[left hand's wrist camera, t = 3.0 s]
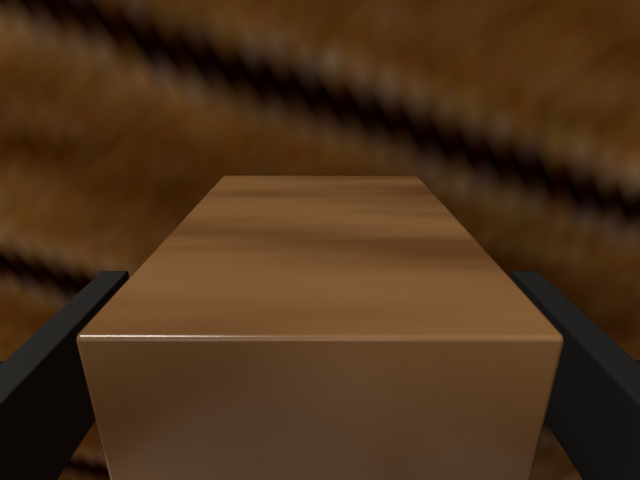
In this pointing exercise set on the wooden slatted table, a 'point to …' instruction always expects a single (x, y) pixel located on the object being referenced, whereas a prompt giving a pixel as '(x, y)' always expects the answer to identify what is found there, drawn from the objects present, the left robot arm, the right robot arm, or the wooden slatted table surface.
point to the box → (320, 343)
